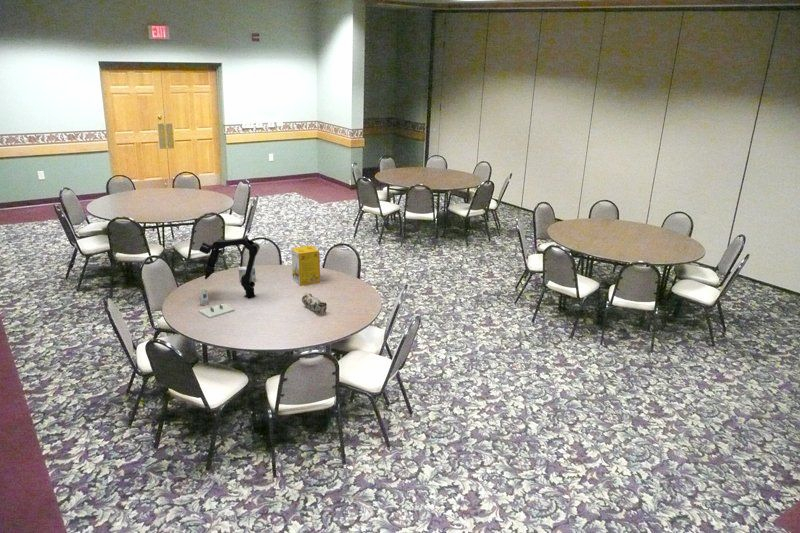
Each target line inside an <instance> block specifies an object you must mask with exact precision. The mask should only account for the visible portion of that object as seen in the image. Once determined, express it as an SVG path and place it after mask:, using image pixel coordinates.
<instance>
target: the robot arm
mask: <svg viewBox="0 0 800 533" xmlns="http://www.w3.org/2000/svg"><path fill="white" fill-rule="evenodd" d="M240 245H242V246H243V247H244V248H245V249H247V250H248V256H249V257H248V260H247V261H248V262H247V265H246V267H247V269H246V273H245V274H244V275H243V276H242V278H241V282H240V285H241V287H243V290H244V291H245V294H244V295H243V296H244V297H245V298H247V299H249V300H250V299H253V298H255V297H257V295H256V294H255V288H254V287H255V286H256V283H255V281H254V282H253V281H252V275H251V274H252V270H253V267H255V265H254V264H255V261H256V256H257V255H258V254H259V251H260V248H261V246H260V245H259V243H257V242H255V241H253V240H252V239H251V240H250V239H248V238H247V237H243V238H242V237H240V238H233V239H220V238H219V239H216V240H215V241H214V242H213V243H212V244H208V243H206V242H202V244H201V245H200V247H199V250H198V252H200V253H202V254H203V253H204V254H205V255H209V256H208V257H199V258H198V264H200V265H201V264H204V271H205V273H204V279H205V280H208V279H209V277H210V276H212V275H213V273H215V270H216V269H215V267H216V264H217V262H218V259H219V256H220V255H221V254H224V251H223V249H224V248H227V247H234V246H240Z"/></svg>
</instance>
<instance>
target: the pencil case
mask: <svg viewBox="0 0 800 533" xmlns="http://www.w3.org/2000/svg"><path fill="white" fill-rule="evenodd" d="M301 303H302V304H303V305H304V306H305V307H306V308H307V309H309V310H312V311H313V312H314V313H316V314H318V315H320V316H322V315H324V314H325V313H326V311H327V308H328V307H327V306H328V304H327V302H324V301H321V300H320V299H318V297H315V296H313V295H312V293H308V292H307V291H306V292H305V293H304V295H303V296H302V298H301Z"/></svg>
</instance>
